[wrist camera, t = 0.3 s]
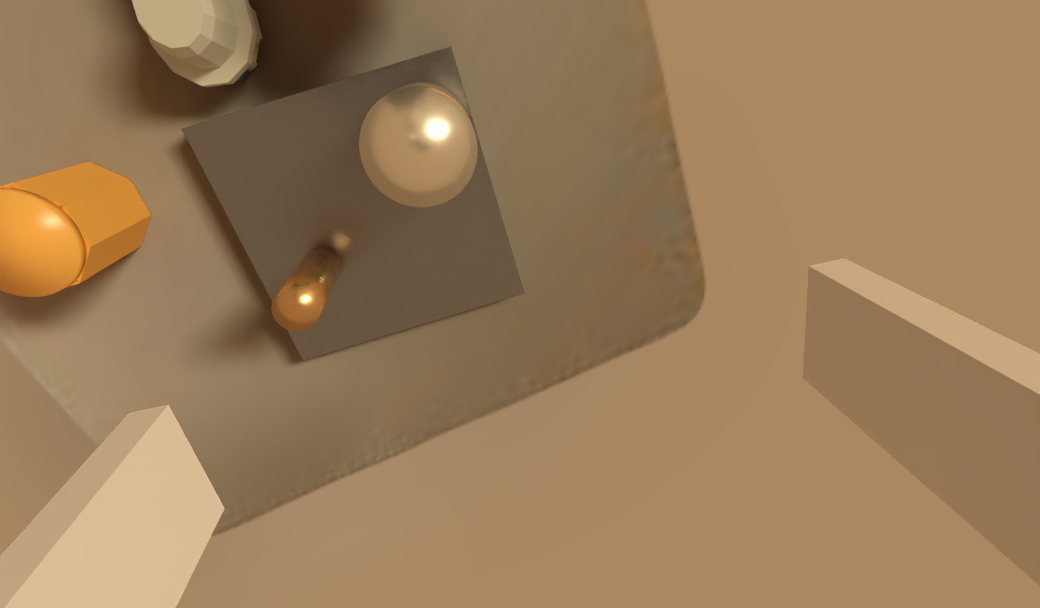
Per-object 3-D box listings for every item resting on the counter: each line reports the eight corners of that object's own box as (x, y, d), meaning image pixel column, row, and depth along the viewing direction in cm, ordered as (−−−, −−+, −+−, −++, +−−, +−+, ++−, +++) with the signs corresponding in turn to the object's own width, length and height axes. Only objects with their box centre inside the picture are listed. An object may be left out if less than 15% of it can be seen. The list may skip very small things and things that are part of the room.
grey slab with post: (196, 125, 33) (111, 146, 24) (450, 47, 33) (452, 42, 25) (309, 347, 40) (273, 423, 31) (520, 282, 40) (540, 341, 31)
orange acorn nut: (25, 180, 33) (-78, 210, 26) (114, 153, 33) (33, 176, 26) (82, 264, 35) (-1, 310, 29) (165, 238, 35) (101, 279, 29)
